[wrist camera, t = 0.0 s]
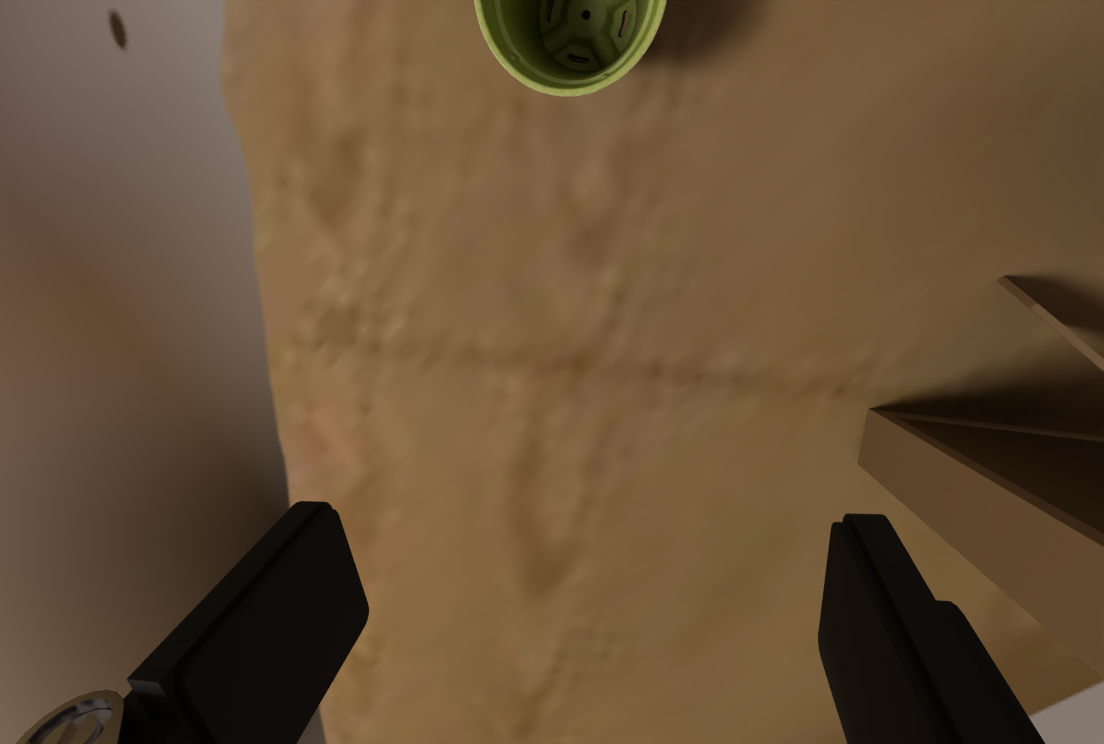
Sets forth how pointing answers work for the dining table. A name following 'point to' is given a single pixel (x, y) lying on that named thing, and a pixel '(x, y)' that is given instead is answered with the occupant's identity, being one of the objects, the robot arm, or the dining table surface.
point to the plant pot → (568, 40)
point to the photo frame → (1009, 503)
